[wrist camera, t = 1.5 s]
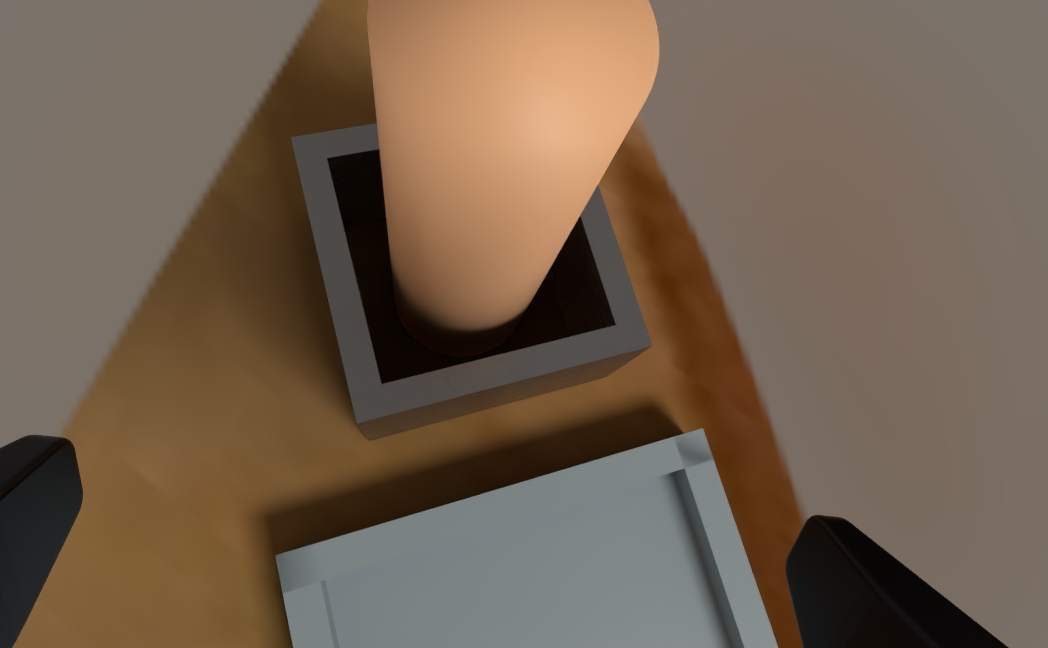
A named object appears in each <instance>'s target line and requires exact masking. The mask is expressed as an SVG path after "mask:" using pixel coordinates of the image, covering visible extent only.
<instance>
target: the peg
mask: <svg viewBox="0 0 1048 648" xmlns="http://www.w3.org/2000/svg"><path fill="white" fill-rule="evenodd" d="M367 25H368V38H369V48H370V58H371V68H372V78H373V89H374V99H375V109H376V119H377V129H378V139H379V149H380V159H381V169H382V179H383V189H384V199H385V210H386V220H387V230H388V240H389V250H390V260H391V270H392V280H393V290H394V300H395V305H396V309H397V312H398V315H399V318H400V320H401V322H402V324H403V325H404V327H405V328H406V330H407V331H408V332H409V333H410V334H411V335H412V337H413V338H415V339H416V340H417V341H418V342H419V343H421V344H422V345H424V346H425V347H427V348H429V349H431V350H433V351H435V352H438V353H441V354H444V355H449V356H457V357H466V356H474V355H479V354H482V353H485V352H487V351H490V350H492V349H494V348H495V347H497V346H498V345H500V344H501V343H503V342H504V341H505V340H506V339H507V338H508V337H509V336H510V335H511V334H512V333H513V331H514V330H515V328H516V327H517V325H518V324H519V322H520V320H521V318H522V317H523V315H524V313H525V311H526V310H527V308H528V306H529V304H530V303H531V301H532V299H533V297H534V296H535V294H536V292H537V290H538V288H539V287H540V285H541V283H542V281H543V280H544V278H545V276H546V274H547V273H548V271H549V269H550V267H551V266H552V264H553V262H554V260H555V259H556V257H557V255H558V253H559V252H560V250H561V248H562V246H563V245H564V243H565V241H566V239H567V238H568V236H569V234H570V232H571V231H572V229H573V227H574V225H575V224H576V222H577V220H578V218H579V217H580V215H581V213H582V211H583V210H584V208H585V206H586V204H587V203H588V201H589V199H590V197H591V196H592V194H593V192H594V190H595V188H596V187H597V185H598V183H599V181H600V180H601V178H602V176H603V174H604V173H605V171H606V169H607V167H608V166H609V164H610V162H611V160H612V159H613V157H614V155H615V153H616V152H617V150H618V148H619V146H620V145H621V143H622V141H623V139H624V138H625V136H626V134H627V132H628V131H629V129H630V127H631V125H632V124H633V122H634V120H635V118H636V117H637V115H638V113H639V111H640V110H641V108H642V106H643V104H644V103H645V101H646V99H647V97H648V95H649V92H650V90H651V88H652V86H653V83H654V80H655V76H656V73H657V68H658V60H659V37H658V30H657V24H656V20H655V17H654V14H653V11H652V8H651V5H650V3H649V1H648V0H369V2H368V10H367Z"/></svg>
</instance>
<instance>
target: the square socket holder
mask: <svg viewBox="0 0 1048 648" xmlns="http://www.w3.org/2000/svg"><path fill="white" fill-rule="evenodd" d="M291 141H292V145H293V150H294V154H295V159H296V163H297V167H298V172H299V176H300V180H301V185H302V189H303V193H304V198H305V202H306V206H307V211H308V215H309V219H310V224H311V228H312V232H313V237H314V241H315V245H316V250H317V254H318V258H319V263H320V267H321V271H322V276H323V280H324V284H325V289H326V293H327V297H328V302H329V306H330V310H331V315H332V319H333V323H334V328H335V332H336V336H337V341H338V345H339V349H340V354H341V358H342V362H343V367H344V371H345V375H346V380H347V384H348V388H349V393H350V397H351V401H352V406H353V410H354V415H355V419H356V423H357V425H358V426H359V428H360V429H361V430H362V432H363V433H364V435H365V436H366V438H367V439H368V440H369V441H370V440H373V439H377V438H381V437H385V436H388V435H392V434H396V433H399V432H403V431H407V430H411V429H414V428H418V427H422V426H425V425H429V424H433V423H436V422H440V421H444V420H448V419H451V418H455V417H459V416H462V415H466V414H470V413H474V412H477V411H481V410H485V409H488V408H492V407H496V406H500V405H503V404H507V403H511V402H514V401H518V400H522V399H526V398H529V397H533V396H537V395H540V394H544V393H548V392H552V391H555V390H559V389H563V388H566V387H570V386H574V385H578V384H581V383H585V382H589V381H592V380H596V379H600V378H604V377H607V376H608V375H610V374H611V373H613V372H614V371H616V370H617V369H619V368H620V367H622V366H623V365H625V364H626V363H628V362H629V361H631V360H632V359H634V358H635V357H637V356H638V355H639V354H641V353H642V352H644V351H645V350H647V349H648V348H650V347H651V346H652V344H651V341H650V338H649V335H648V332H647V329H646V326H645V323H644V320H643V317H642V314H641V311H640V308H639V305H638V302H637V299H636V297H635V294H634V291H633V288H632V285H631V282H630V279H629V276H628V273H627V270H626V267H625V264H624V261H623V258H622V255H621V252H620V249H619V246H618V243H617V240H616V237H615V234H614V231H613V228H612V225H611V222H610V219H609V216H608V213H607V210H606V207H605V204H604V201H603V198H602V195H601V192H600V190H599V187H598V185H597V187H596V188H595V190H594V192H593V194H592V196H591V197H590V199H589V201H588V203H587V204H586V206H585V208H584V210H583V211H582V213H581V215H580V217H579V218H578V220H577V222H576V224H575V225H574V227H573V229H572V231H571V232H570V234H569V236H568V238H567V239H566V241H565V243H564V245H563V246H562V248H561V250H560V252H559V253H558V255H557V257H556V259H555V260H554V262H553V264H552V266H551V267H550V269H549V270H550V273H551V276H552V279H553V283H554V286H555V289H556V292H557V296H558V299H559V302H560V305H561V309H562V312H563V315H564V318H565V321H566V325H567V328H568V331H569V334H570V337H567V338H563V339H559V340H555V341H551V342H547V343H543V344H539V345H535V346H531V347H527V348H523V349H519V350H515V351H511V352H507V353H503V354H499V355H495V356H491V357H487V358H484V359H480V360H476V361H472V362H468V363H464V364H460V365H456V366H452V367H448V368H444V369H440V370H436V371H432V372H428V373H424V374H420V375H416V376H412V377H408V378H404V379H400V380H396V381H392V382H388V383H384V384H382V381H381V377H380V372H379V368H378V364H377V360H376V356H375V352H374V348H373V343H372V339H371V335H370V331H369V327H368V323H367V319H366V315H365V310H364V306H363V302H362V298H361V294H360V290H359V286H358V282H357V277H356V273H355V269H354V265H353V261H352V257H351V253H350V248H349V244H348V240H347V236H346V232H345V228H344V225H347V224H352V223H357V222H362V221H367V220H373V219H378V218H383V217H386V210H385V199H384V189H383V179H382V169H381V159H380V149H379V139H378V129H377V123H374V124H368V125H361V126H355V127H349V128H343V129H337V130H331V131H325V132H319V133H313V134H307V135H301V136H295V137H291Z"/></svg>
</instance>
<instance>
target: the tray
mask: <svg viewBox="0 0 1048 648" xmlns="http://www.w3.org/2000/svg"><path fill="white" fill-rule="evenodd" d="M275 557H276V562H277V567H278V572H279V577H280V583H281V588H282V593H283V598H284V603H285V608H286V613H287V618H288V624H289V629H290V634H291V639H292V644H293V648H778V646H777V643H776V640H775V637H774V634H773V631H772V628H771V625H770V622H769V619H768V617H767V614H766V611H765V608H764V605H763V602H762V599H761V596H760V593H759V590H758V587H757V585H756V582H755V579H754V576H753V573H752V570H751V567H750V564H749V561H748V558H747V555H746V553H745V550H744V547H743V544H742V541H741V538H740V535H739V532H738V529H737V526H736V524H735V521H734V518H733V515H732V512H731V509H730V506H729V503H728V500H727V497H726V494H725V492H724V489H723V486H722V483H721V480H720V477H719V474H718V471H717V468H716V465H715V462H714V460H713V457H712V454H711V451H710V448H709V445H708V442H707V439H706V436H705V433H704V431H703V428H701V429H698V430H694V431H690V432H687V433H683V434H680V435H676V436H673V437H669V438H666V439H663V440H659V441H656V442H653V443H649V444H646V445H643V446H639V447H636V448H633V449H629V450H626V451H622V452H619V453H616V454H612V455H609V456H606V457H602V458H599V459H596V460H592V461H589V462H586V463H582V464H579V465H575V466H572V467H569V468H565V469H562V470H559V471H555V472H552V473H549V474H545V475H542V476H539V477H535V478H532V479H528V480H525V481H522V482H518V483H515V484H512V485H508V486H505V487H502V488H498V489H495V490H492V491H488V492H485V493H481V494H478V495H475V496H471V497H468V498H465V499H461V500H458V501H455V502H451V503H448V504H445V505H441V506H438V507H434V508H431V509H428V510H424V511H421V512H418V513H414V514H411V515H408V516H404V517H401V518H398V519H394V520H391V521H387V522H384V523H381V524H377V525H374V526H371V527H367V528H364V529H361V530H357V531H354V532H351V533H347V534H344V535H340V536H337V537H334V538H330V539H327V540H324V541H320V542H317V543H314V544H310V545H307V546H304V547H300V548H297V549H293V550H290V551H287V552H284V553H281V554H278V555H275Z"/></svg>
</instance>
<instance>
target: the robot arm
mask: <svg viewBox="0 0 1048 648" xmlns="http://www.w3.org/2000/svg"><path fill="white" fill-rule="evenodd" d="M82 499H83V489H82V484H81V478H80V473H79V468H78V463H77V458H76V453H75V448H74V445H73V444H72V442H71V441H70V440H68V439H66V438H62V437H53V436H42V435H28V436H25V437H23V438H20V439H18V440H16V441H14V442H12V443H10V444H8V445H6V446H4V447H1V448H0V648H12V647H13V645H14V643H15V642H16V640H17V638H18V636H19V634H20V632H21V630H22V628H23V626H24V625H25V623H26V621H27V619H28V617H29V615H30V613H31V611H32V608H33V606H34V604H35V602H36V600H37V598H38V596H39V594H40V592H41V590H42V588H43V586H44V584H45V582H46V580H47V577H48V575H49V573H50V571H51V569H52V567H53V565H54V563H55V561H56V559H57V557H58V555H59V553H60V551H61V549H62V546H63V544H64V542H65V540H66V538H67V536H68V534H69V532H70V530H71V528H72V526H73V524H74V522H75V520H76V518H77V515H78V513H79V511H80V508H81V505H82ZM786 578H787V582H788V586H789V591H790V595H791V599H792V603H793V607H794V611H795V616H796V620H797V624H798V628H799V632H800V637H801V641H802V645H803V648H1008V647H1007V646H1006V645H1005V644H1003V643H1002V642H1000V640H998V639H997V638H996V637H994V636H993V635H992V634H991V633H989V632H988V631H987V630H985V629H984V628H983V627H982V626H981V625H979V624H978V623H977V622H975V621H974V620H973V619H972V618H970V617H969V616H968V615H967V614H965V613H964V612H963V611H962V610H960V609H959V608H958V607H956V606H955V605H954V604H953V603H951V602H950V601H949V600H948V599H946V598H945V597H944V596H943V595H941V594H940V593H939V592H937V591H936V590H935V589H933V588H932V587H931V586H930V585H929V584H927V583H926V582H925V581H923V580H922V579H921V578H920V577H918V576H917V575H916V574H915V573H913V572H912V571H911V570H909V569H908V568H907V567H906V566H904V565H903V564H902V563H901V562H899V561H898V560H897V559H895V558H894V557H893V556H892V555H891V554H889V553H888V552H887V551H885V550H884V549H883V548H882V547H880V546H879V545H878V544H877V543H875V542H874V541H873V540H872V539H870V538H869V537H868V536H867V535H865V534H864V533H863V532H861V531H860V530H859V529H858V528H856V527H855V526H854V525H853V524H851V523H850V522H849V521H847V520H846V519H843V518H840V517H833V516H823V515H814V516H812V517H810V518H809V519H808V520H807V521H806V523H805V524H804V526H803V528H802V530H801V532H800V534H799V536H798V538H797V539H796V541H795V543H794V545H793V547H792V549H791V551H790V553H789V555H788V557H787V561H786Z"/></svg>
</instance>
